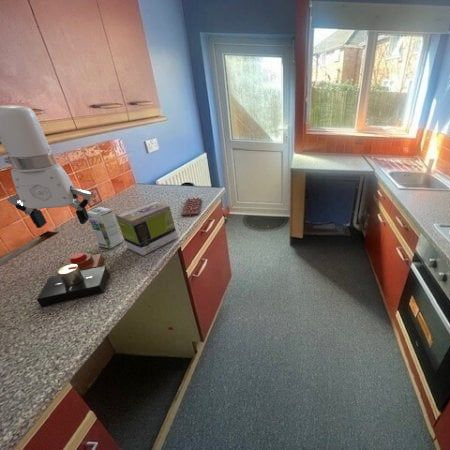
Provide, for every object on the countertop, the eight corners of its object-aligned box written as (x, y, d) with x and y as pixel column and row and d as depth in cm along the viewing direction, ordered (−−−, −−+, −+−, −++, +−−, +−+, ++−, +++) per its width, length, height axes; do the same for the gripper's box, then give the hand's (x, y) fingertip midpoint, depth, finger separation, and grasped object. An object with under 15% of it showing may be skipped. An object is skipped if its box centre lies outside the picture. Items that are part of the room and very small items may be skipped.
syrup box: (98, 246, 95) (84, 212, 88) (112, 238, 100) (100, 206, 93) (109, 249, 94) (96, 214, 87) (123, 241, 99) (112, 208, 92)
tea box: (162, 232, 106) (154, 200, 99) (178, 238, 102) (170, 205, 95) (126, 248, 95) (114, 213, 88) (142, 256, 91) (131, 220, 84)
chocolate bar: (182, 216, 120) (181, 212, 119) (187, 201, 136) (186, 198, 135) (198, 215, 121) (197, 211, 121) (201, 200, 138) (200, 197, 137)
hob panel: (41, 307, 69) (36, 298, 67) (54, 284, 77) (49, 276, 75) (102, 292, 74) (99, 284, 73) (108, 273, 82) (105, 265, 81)
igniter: (60, 279, 79) (54, 269, 77) (68, 265, 85) (63, 255, 83) (98, 271, 83) (94, 262, 81) (103, 258, 89) (99, 249, 87)
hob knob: (62, 287, 71) (55, 274, 69) (67, 278, 75) (60, 265, 73) (81, 283, 73) (75, 270, 71) (85, 274, 77) (79, 262, 74)
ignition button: (70, 264, 80) (68, 259, 79) (73, 257, 83) (71, 253, 82) (84, 261, 81) (82, 257, 80) (87, 255, 84) (85, 251, 83)
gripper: (-25, 167, 55) (15, 234, 63) (70, 164, 60) (95, 226, 68) (0, 159, 61) (33, 220, 69) (83, 157, 66) (105, 214, 74)
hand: (64, 223), depth 69 cm, fingers open, 9 cm apart
